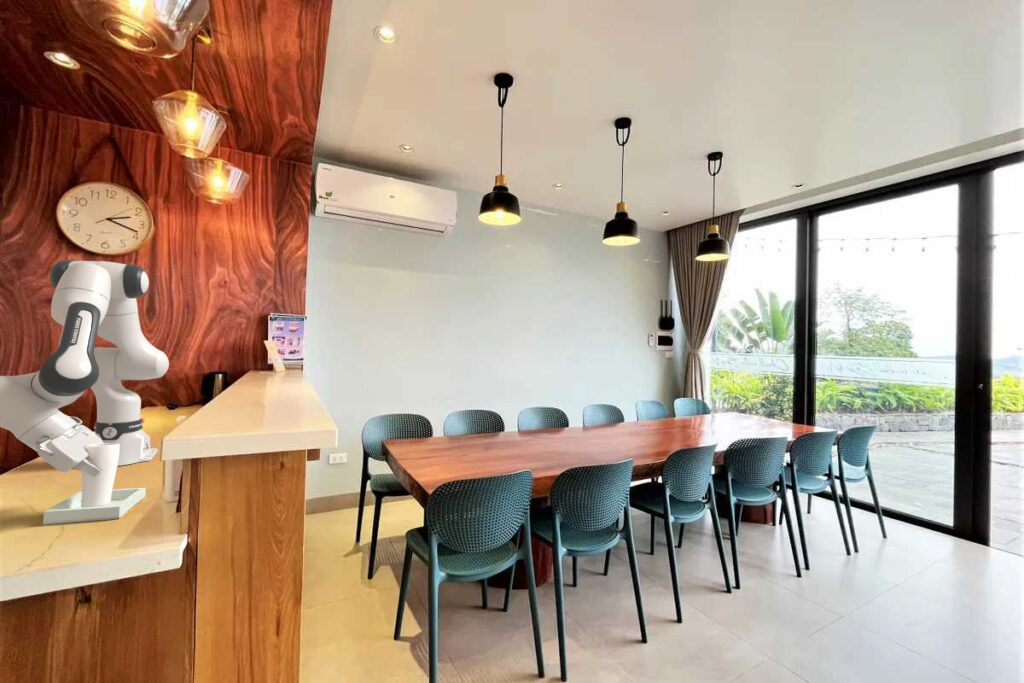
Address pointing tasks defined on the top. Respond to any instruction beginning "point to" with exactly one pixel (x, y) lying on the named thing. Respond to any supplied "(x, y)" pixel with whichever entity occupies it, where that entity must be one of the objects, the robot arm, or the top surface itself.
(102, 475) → the white tall cup
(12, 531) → the top surface
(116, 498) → the tray
